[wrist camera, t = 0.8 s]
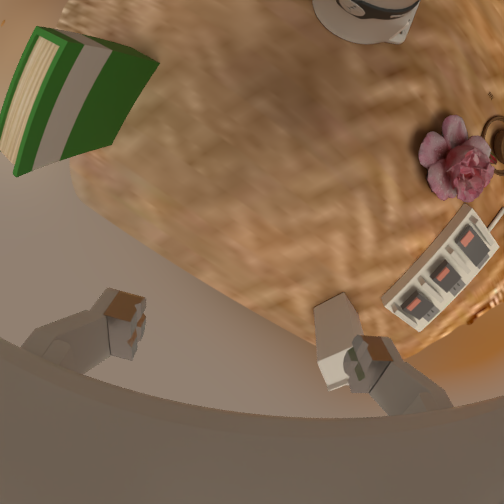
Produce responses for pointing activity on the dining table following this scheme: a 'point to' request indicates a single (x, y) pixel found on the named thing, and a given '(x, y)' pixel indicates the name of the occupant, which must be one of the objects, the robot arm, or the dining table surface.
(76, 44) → the hardback book
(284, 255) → the dining table surface
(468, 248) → the rocker near arm
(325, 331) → the milk carton
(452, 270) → the rocker middle
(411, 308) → the rocker far end
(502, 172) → the place setting
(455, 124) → the flower
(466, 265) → the power strip
